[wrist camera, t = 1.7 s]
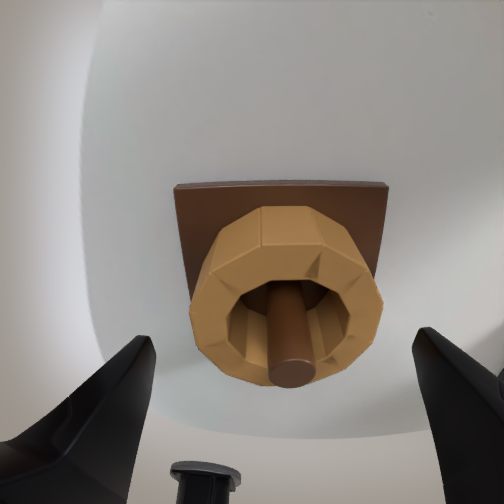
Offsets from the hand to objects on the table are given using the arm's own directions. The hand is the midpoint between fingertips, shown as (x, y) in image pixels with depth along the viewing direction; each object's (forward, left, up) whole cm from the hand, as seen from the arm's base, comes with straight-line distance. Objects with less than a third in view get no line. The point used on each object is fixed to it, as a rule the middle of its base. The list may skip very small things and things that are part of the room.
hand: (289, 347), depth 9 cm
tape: (0, 0, -4) cm, 4 cm away
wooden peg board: (0, 0, -4) cm, 4 cm away
